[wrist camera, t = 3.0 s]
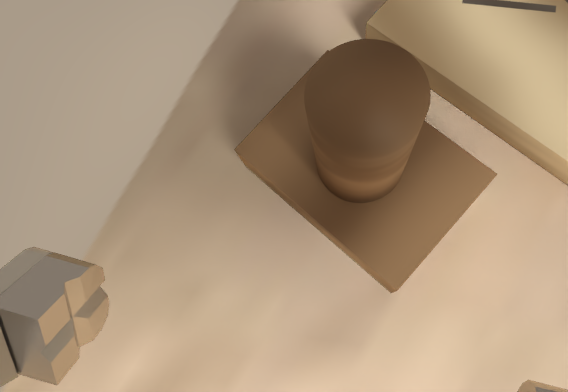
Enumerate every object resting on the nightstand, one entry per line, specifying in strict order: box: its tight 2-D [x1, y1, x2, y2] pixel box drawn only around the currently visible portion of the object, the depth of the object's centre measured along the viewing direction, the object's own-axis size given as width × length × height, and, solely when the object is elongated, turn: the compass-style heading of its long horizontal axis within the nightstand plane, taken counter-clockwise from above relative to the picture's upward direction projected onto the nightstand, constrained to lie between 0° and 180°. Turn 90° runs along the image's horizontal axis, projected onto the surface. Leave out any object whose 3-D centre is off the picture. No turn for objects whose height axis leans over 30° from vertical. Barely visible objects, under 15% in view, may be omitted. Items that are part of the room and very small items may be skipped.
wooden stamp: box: [235, 39, 497, 293], centre depth 16 cm, size 8×6×8 cm
